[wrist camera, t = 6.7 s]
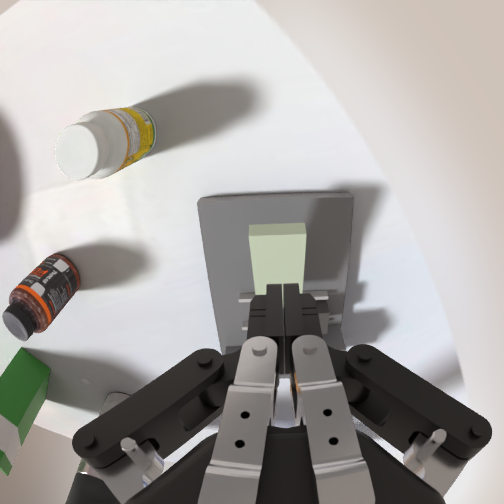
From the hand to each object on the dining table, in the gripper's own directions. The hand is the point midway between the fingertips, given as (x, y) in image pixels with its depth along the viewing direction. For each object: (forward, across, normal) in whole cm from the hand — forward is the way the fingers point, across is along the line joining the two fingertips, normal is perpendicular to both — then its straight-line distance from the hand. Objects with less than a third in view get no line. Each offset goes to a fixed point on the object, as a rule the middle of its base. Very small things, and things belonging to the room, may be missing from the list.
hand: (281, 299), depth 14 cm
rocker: (+10, 0, +4) cm, 11 cm away
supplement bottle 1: (+15, +27, +8) cm, 32 cm away
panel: (+15, 0, +12) cm, 19 cm away
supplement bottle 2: (+16, +13, -7) cm, 22 cm away
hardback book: (+15, +51, +34) cm, 63 cm away
